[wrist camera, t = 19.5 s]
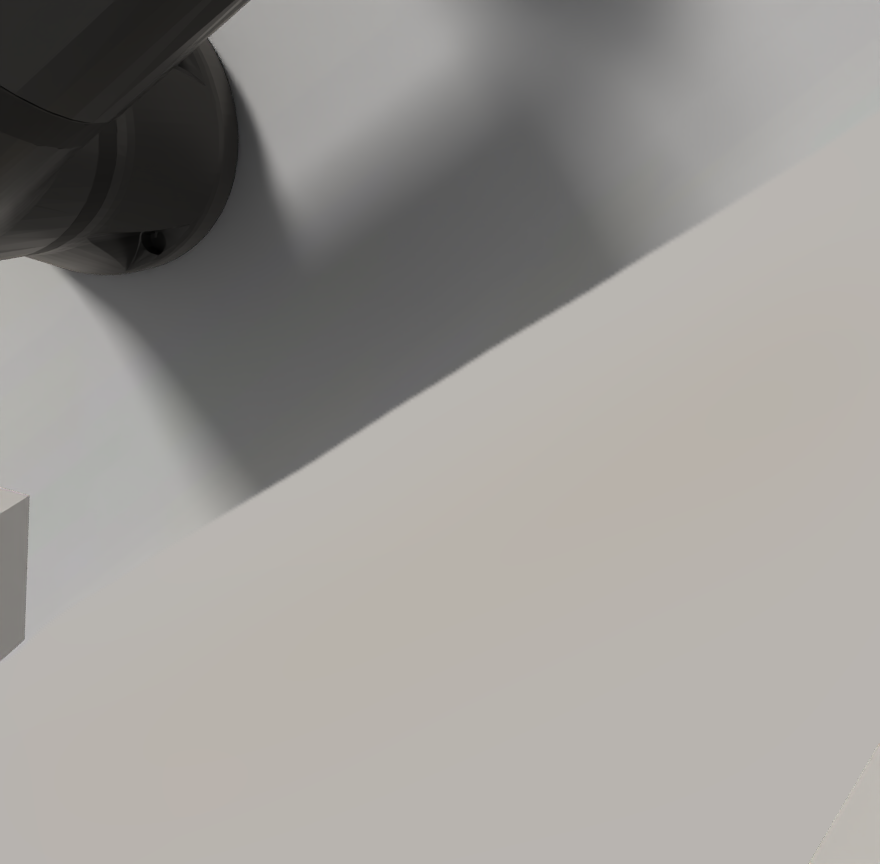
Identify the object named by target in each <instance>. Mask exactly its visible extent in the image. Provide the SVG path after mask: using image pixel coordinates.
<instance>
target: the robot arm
mask: <svg viewBox="0 0 880 864" xmlns="http://www.w3.org/2000/svg"><path fill="white" fill-rule="evenodd" d="M249 1H250V0H0V260H6V259H11V258H17V257H23V256H25V257H29V258H32V259H35V260H38V261H42V262H45V263H48V264H51V265H55V266H58V267H61V268H64V269H68V270H71V271H75V272H80V273H85V274H94V275H120V274H127V273H133V272H137V271H141V270H145V269H149V268H153V267H157V266H160V265H163V264H165V263H168V262H170V261H172V260H174V259H176V258H178V257H180V256H181V255H183V254H184V253H186V252H187V251H189V250H190V249H191V248H193V247H194V246H195V245H196V244H197V243H198V242H199V241H200V240H201V239H202V238H203V237H204V236H205V235H206V234H207V233H208V232H209V230H210V229H211V228H212V226H213V225H214V223H215V222H216V221H217V219H218V217H219V216H220V214H221V212H222V210H223V208H224V206H225V204H226V202H227V199H228V196H229V194H230V191H231V188H232V184H233V180H234V176H235V171H236V165H237V156H238V126H237V117H236V111H235V105H234V101H233V97H232V93H231V90H230V86H229V83H228V80H227V78H226V75H225V72H224V70H223V67H222V65H221V63H220V61H219V59H218V57H217V55H216V53H215V51H214V49H213V48H212V46H211V44H210V43H209V41H208V39H207V38H208V37H210V36H211V35H212V34H213V33H214V32H215V31H216V30H217V29H219V28H220V27H221V26H222V25H223V24H224V23H225V22H227V21H228V20H229V19H230V18H231V17H232V16H233V15H234V14H236V13H237V12H238V11H239V10H240V9H241V8H242V7H243V6H245V5H246V4H247V3H248V2H249ZM29 496H30V495H26V494H23V493H19V492H16V491H12V490H9V489H6V488H2V487H0V661H1V660H2V659H3V658H4V657H6V656H7V655H8V654H9V653H10V652H11V651H12V650H13V649H15V648H16V647H17V646H18V645H19V644H20V643H21V642H22V641H24V639H25V610H26V582H27V553H28V524H29ZM809 864H880V743H879V744H878V746H877V748H876V749H875V751H874V753H873V755H872V756H871V758H870V760H869V761H868V763H867V765H866V766H865V768H864V770H863V772H862V773H861V775H860V777H859V779H858V780H857V782H856V783H855V785H854V787H853V789H852V790H851V792H850V794H849V795H848V797H847V799H846V801H845V802H844V804H843V806H842V807H841V809H840V811H839V812H838V814H837V816H836V818H835V819H834V821H833V823H832V825H831V826H830V828H829V830H828V831H827V833H826V835H825V836H824V838H823V840H822V842H821V843H820V845H819V847H818V848H817V850H816V852H815V853H814V855H813V857H812V859H811V860H810V862H809Z"/></svg>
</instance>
